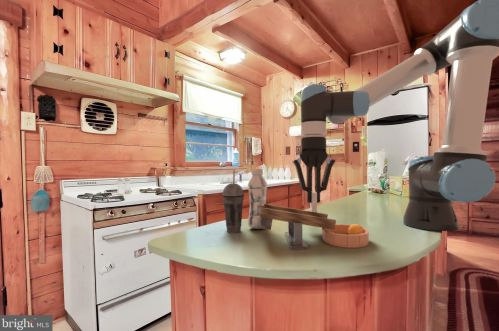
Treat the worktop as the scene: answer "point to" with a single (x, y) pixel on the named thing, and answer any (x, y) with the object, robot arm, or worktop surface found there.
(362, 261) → the worktop surface
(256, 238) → the worktop surface
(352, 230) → the ball
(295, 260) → the worktop surface
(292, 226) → the stand
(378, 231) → the worktop surface
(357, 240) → the bowl
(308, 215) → the trough
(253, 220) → the plastic bottle
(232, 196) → the beverage cup
